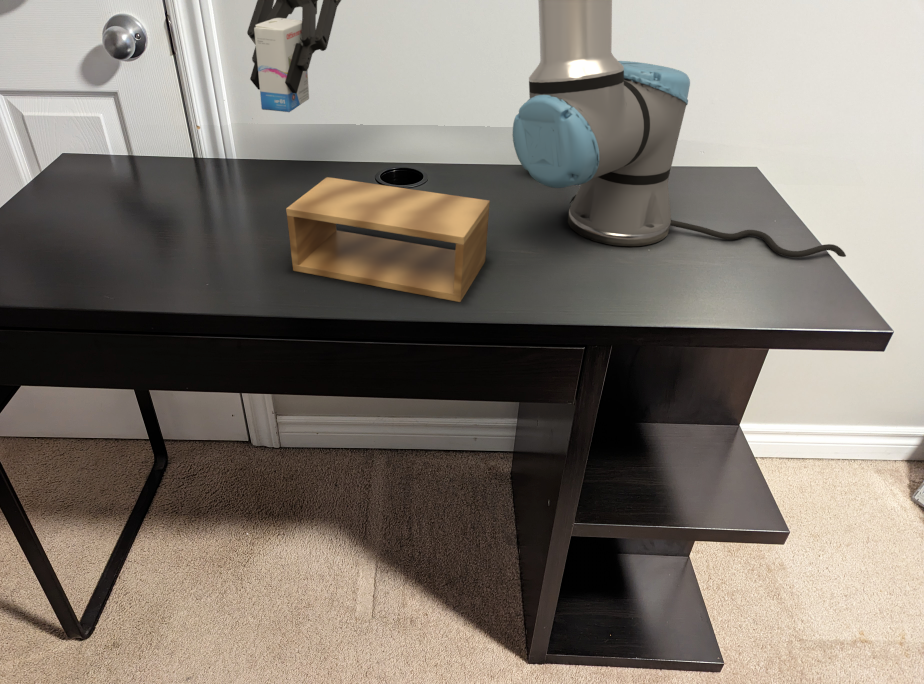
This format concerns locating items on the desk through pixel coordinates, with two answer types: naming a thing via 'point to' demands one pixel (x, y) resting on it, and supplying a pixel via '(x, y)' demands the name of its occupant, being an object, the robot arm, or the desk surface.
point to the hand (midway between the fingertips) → (273, 86)
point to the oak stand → (385, 258)
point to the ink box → (278, 64)
